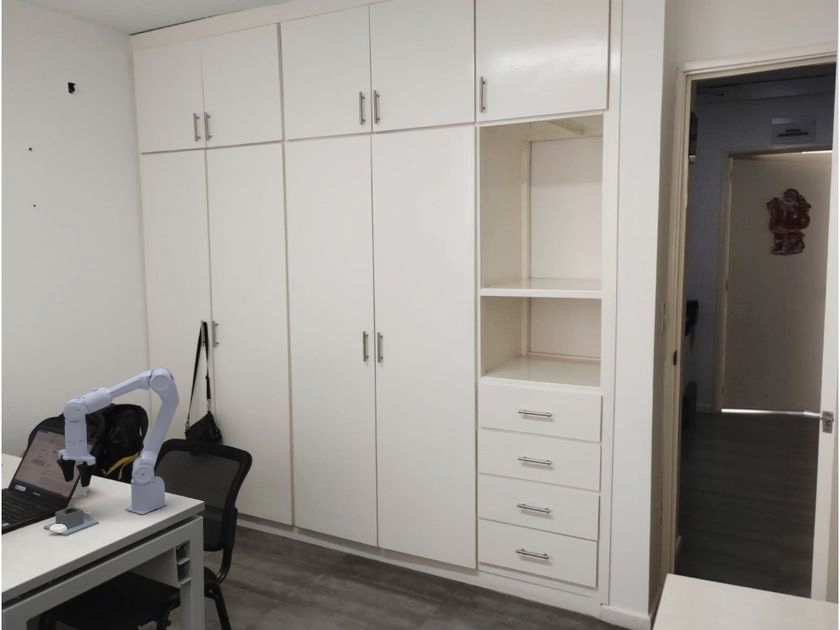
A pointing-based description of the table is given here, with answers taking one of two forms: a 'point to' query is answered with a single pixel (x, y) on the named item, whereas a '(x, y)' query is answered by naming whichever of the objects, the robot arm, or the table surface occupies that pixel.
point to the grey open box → (70, 517)
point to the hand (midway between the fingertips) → (77, 483)
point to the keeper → (87, 523)
